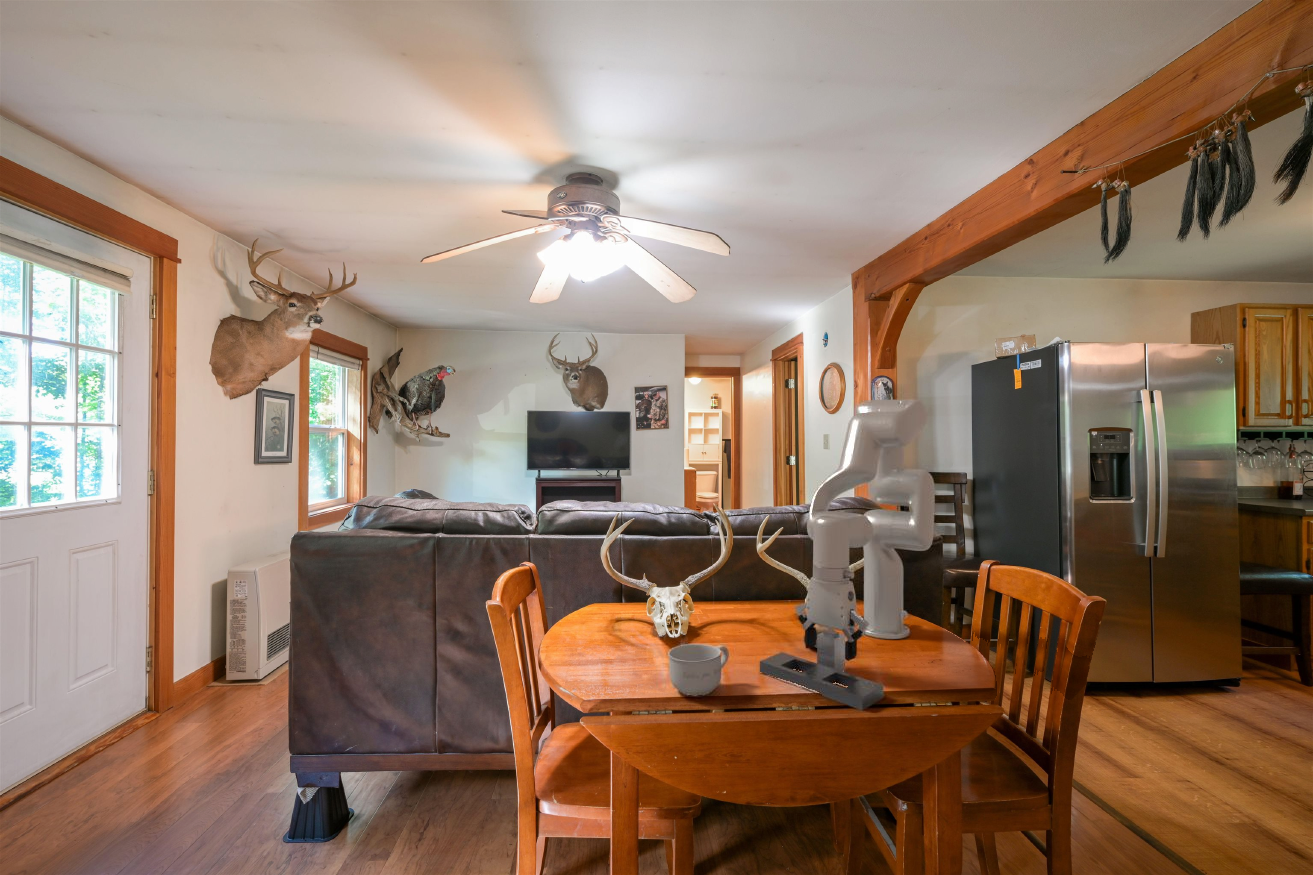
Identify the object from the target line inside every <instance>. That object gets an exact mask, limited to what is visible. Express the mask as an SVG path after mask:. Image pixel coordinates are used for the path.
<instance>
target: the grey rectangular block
mask: <svg viewBox="0 0 1313 875" xmlns="http://www.w3.org/2000/svg"><path fill="white" fill-rule="evenodd" d="M833 630H834V629H833ZM833 630H827V631H825V632H823V633H820V634H818V635H817V647H816V648H817V650H816V651H817V652H816V653H817V654H816V658H817V659H816V660H817V661H816V663H817V664H820V665H823V666H826V667H829V668H832V669H835V670H838V671H842V672H843V671H845V672H846V659H845V642H846V636H845V635H844V633H843V634H842V633H840V632H839V631H836V630H834V631H833Z"/></svg>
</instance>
